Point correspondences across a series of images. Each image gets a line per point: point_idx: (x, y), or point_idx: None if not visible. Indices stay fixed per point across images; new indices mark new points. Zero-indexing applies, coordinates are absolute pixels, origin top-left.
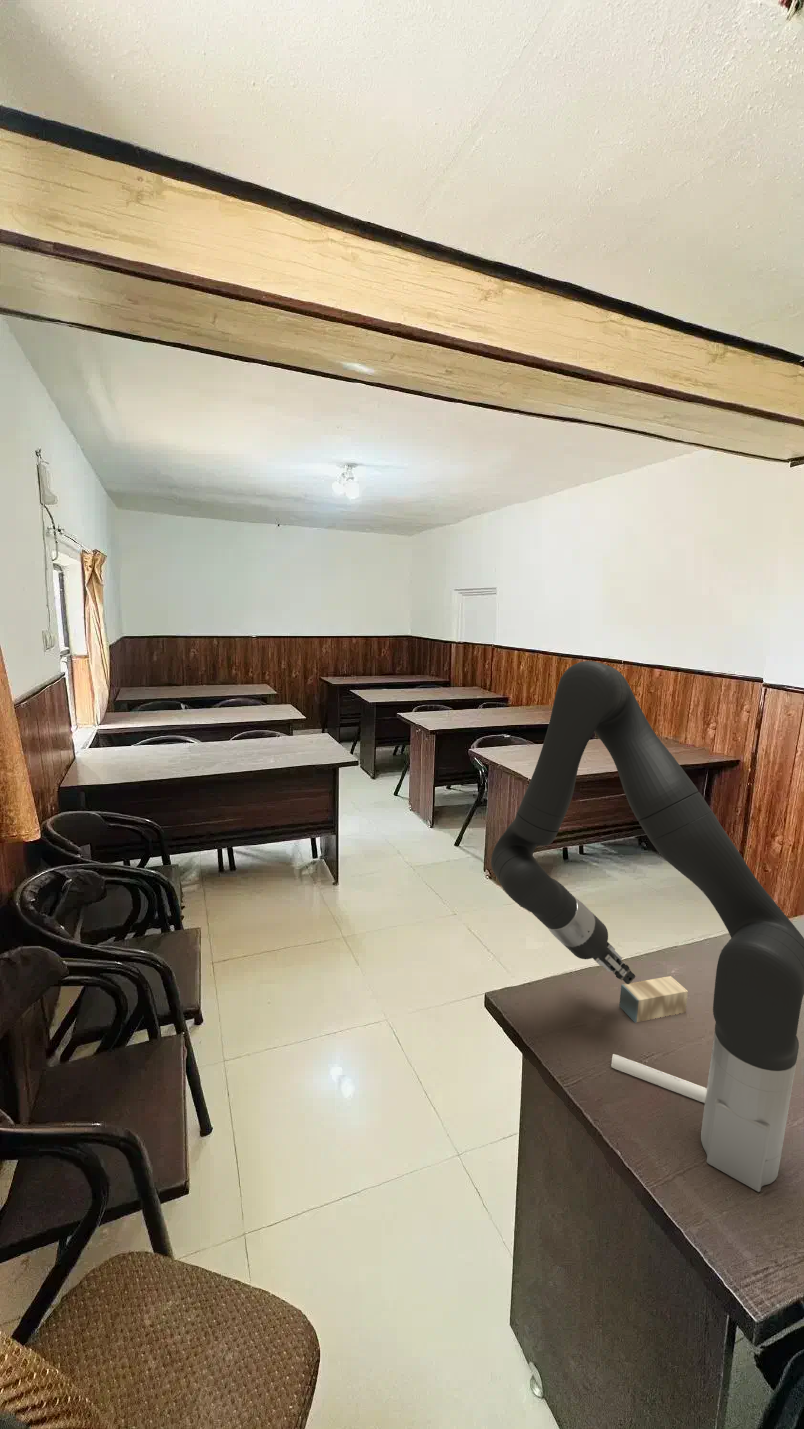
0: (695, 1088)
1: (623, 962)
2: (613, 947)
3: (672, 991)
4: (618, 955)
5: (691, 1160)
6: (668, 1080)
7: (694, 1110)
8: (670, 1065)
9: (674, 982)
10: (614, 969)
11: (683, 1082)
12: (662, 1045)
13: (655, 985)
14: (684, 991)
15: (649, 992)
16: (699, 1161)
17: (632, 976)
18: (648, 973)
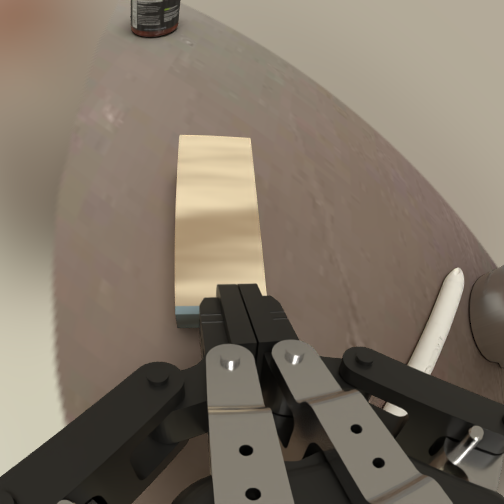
0: (451, 318)
1: (299, 356)
2: (448, 497)
3: (243, 173)
4: (381, 427)
5: (497, 386)
6: (436, 359)
7: (454, 338)
8: (381, 322)
9: (208, 143)
10: (283, 412)
11: (445, 334)
12: (331, 303)
13: (206, 200)
14: (250, 146)
15: (235, 241)
16: (498, 376)
17: (282, 310)
18: (90, 166)
